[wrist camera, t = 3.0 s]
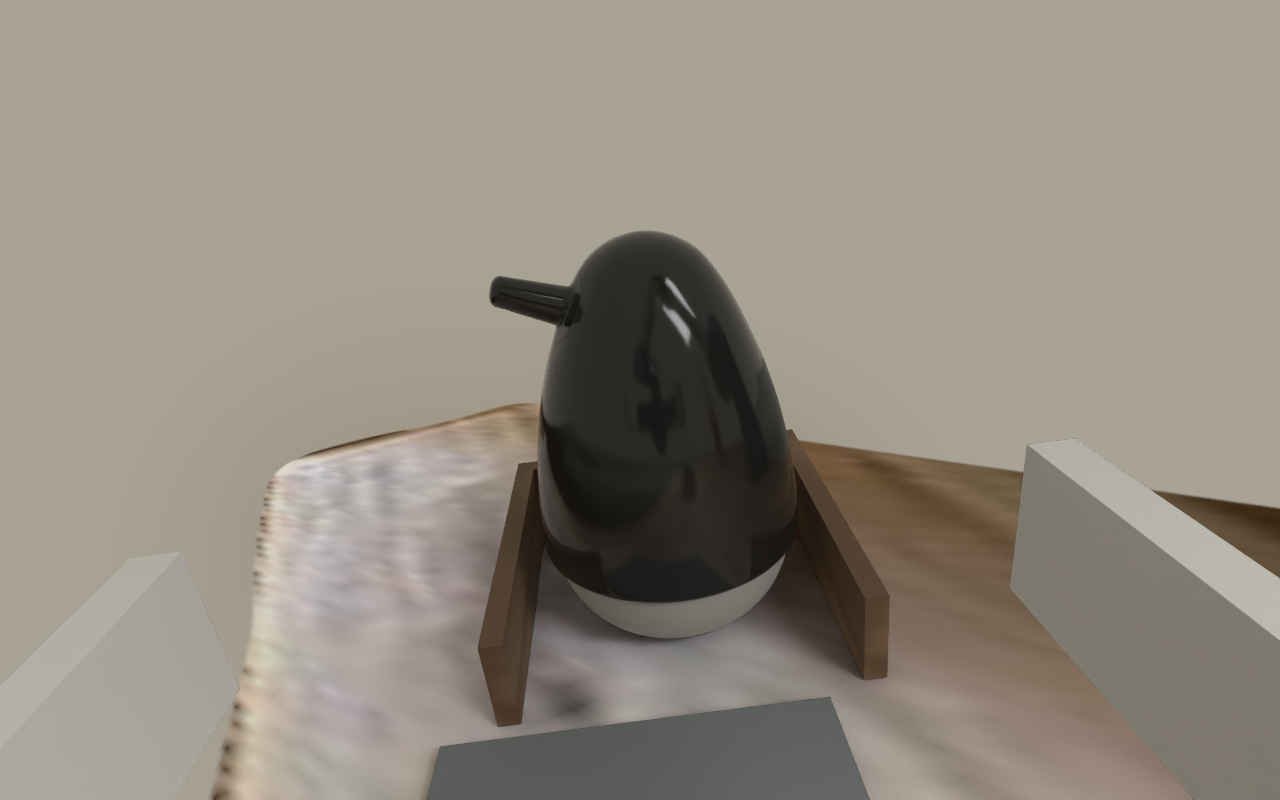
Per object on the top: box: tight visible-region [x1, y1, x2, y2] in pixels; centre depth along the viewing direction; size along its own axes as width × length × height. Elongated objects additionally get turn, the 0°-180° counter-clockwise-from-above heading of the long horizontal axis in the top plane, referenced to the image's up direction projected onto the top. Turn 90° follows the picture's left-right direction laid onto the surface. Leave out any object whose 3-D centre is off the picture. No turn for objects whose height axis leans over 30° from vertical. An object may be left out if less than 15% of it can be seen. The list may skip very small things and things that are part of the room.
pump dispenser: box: [489, 231, 798, 638], centre depth 27 cm, size 10×10×15 cm
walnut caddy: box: [478, 430, 890, 727], centre depth 30 cm, size 14×13×4 cm
